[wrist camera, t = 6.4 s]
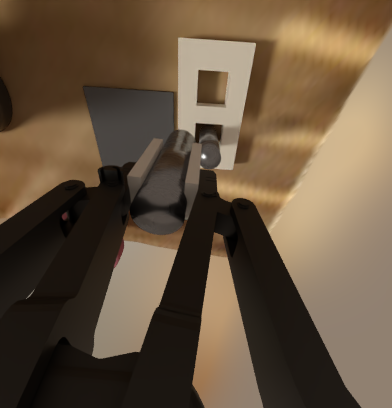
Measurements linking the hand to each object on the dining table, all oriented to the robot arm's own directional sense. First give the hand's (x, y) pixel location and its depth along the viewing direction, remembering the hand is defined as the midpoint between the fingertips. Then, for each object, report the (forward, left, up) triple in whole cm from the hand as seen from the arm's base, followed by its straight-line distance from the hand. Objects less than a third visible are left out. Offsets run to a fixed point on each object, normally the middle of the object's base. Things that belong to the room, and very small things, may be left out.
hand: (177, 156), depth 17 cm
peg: (0, 0, -3) cm, 3 cm away
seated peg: (+3, -4, -19) cm, 20 cm away
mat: (-10, -5, -19) cm, 22 cm away
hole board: (+3, 0, -19) cm, 20 cm away
